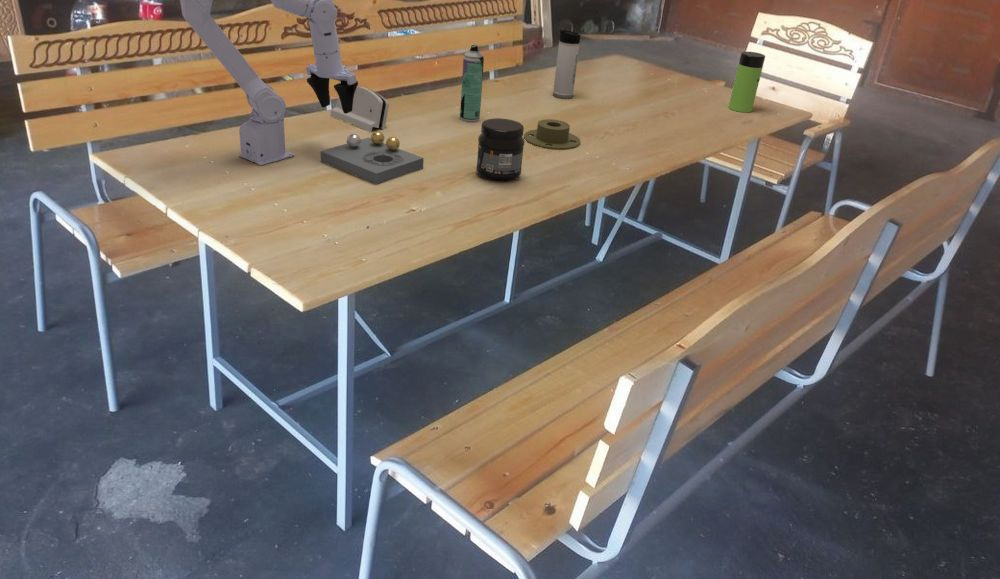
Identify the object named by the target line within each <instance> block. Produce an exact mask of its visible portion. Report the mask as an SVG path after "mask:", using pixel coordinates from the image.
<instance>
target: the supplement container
mask: <svg viewBox="0 0 1000 579" xmlns="http://www.w3.org/2000/svg"><path fill="white" fill-rule="evenodd" d="M524 129H525V128H524V125H523V124H522V123H520V122H519V121H518V120H517V121H516V120H514V119H513V120H512V119H509V118H499V117H498V118H496V117H495V118H489V119H488V118H487V119H485V120H483V121H482V122H481V129H480V132H481V133H480V134H479V135H478V138H477V139H478V140H477V141H478V145H477V146H478V147H477V159H476V160H477V162H476V167H475V168H476V172H477V174H478V175H479V176H480V177H481V178H483V179H485V180H488V181H492V182H500V183H504V182H512V181H514V180H517V179H518V178H520V176H521V174H522V167H523V166H522V165H523V164H522V162H523V157H524V148H525V147H524V146H525V142H526V141H525V140H524Z"/></svg>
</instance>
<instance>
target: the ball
mask: <svg viewBox="0 0 1000 579" xmlns="http://www.w3.org/2000/svg"><path fill="white" fill-rule="evenodd" d="M346 142H347V143H348V145H349V146H350V147H352V148H356V147H358V146H359V145H360V144H361V137H360V136H359V135H358V134H356V133H351V134H349V135H348V136H347V139H346ZM347 143H346V144H347Z"/></svg>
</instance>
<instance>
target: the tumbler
mask: <svg viewBox="0 0 1000 579" xmlns="http://www.w3.org/2000/svg"><path fill="white" fill-rule="evenodd" d="M765 59H766V55H765V54H763V53H761V52H755V51H741V53H740V56H739V61H738V65H737V70H736V74H735V78H734V81H733V82H734V83H733V87H732V91H731V94H730V95H731V96H730V100H729V104H728V108H729V109H730V110H732V111H734V112H739V113H751V112H752V111H753V107H754V103H755V99H756V95H757V92H758V87H759V83H760V80H761V75H762V72H763V68H764V65H765V64H764V62H765Z"/></svg>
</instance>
